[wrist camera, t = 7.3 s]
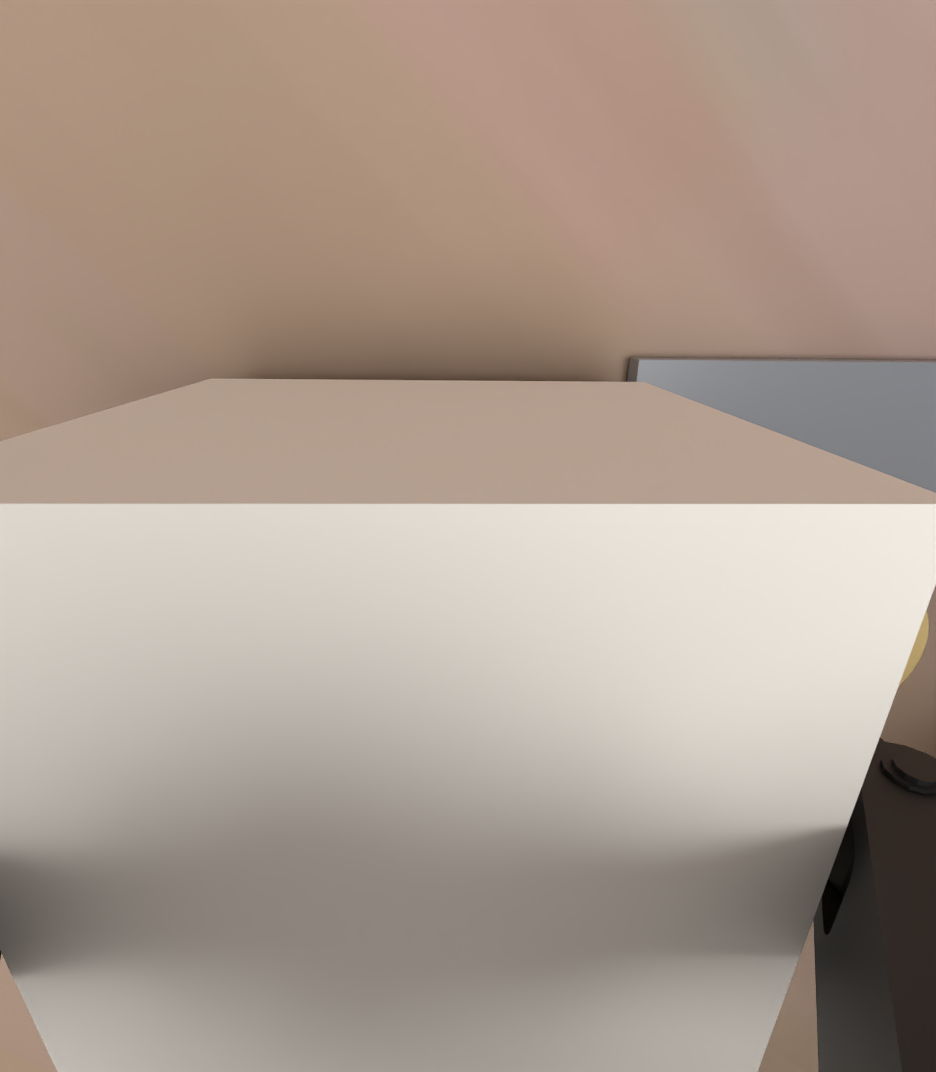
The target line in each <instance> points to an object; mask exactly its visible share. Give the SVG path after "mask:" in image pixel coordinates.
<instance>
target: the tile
mask: <svg viewBox="0 0 936 1072" xmlns="http://www.w3.org/2000/svg"><path fill="white" fill-rule="evenodd" d="M627 382H646V383H648V384H651V385H653V386H656V387H659V388H661V389H664V390H667V391H669V392H672V393H674V394H677V395H680V396H682V397H685V398H688V399H690V400H693V401H695V402H698V403H701V404H703V405H706V406H709V407H711V408H714V409H716V410H719V411H722V412H724V413H727V414H730V415H732V416H735V417H738V418H740V419H743V420H745V421H748V422H751V423H753V424H756V425H759V426H761V427H764V428H766V429H769V430H772V431H774V432H777V433H780V434H782V435H785V436H787V437H790V438H793V439H795V440H798V441H801V442H803V443H806V444H808V445H811V446H814V447H816V448H819V449H822V450H824V451H827V452H830V453H832V454H835V455H837V456H840V457H843V458H845V459H848V460H851V461H853V462H856V463H858V464H861V465H864V466H866V467H869V468H872V469H874V470H877V471H879V472H882V473H885V474H887V475H890V476H893V477H895V478H898V479H900V480H903V481H906V482H908V483H911V484H914V485H916V486H919V487H922V488H924V489H927V490H929V491H932V492H935V493H936V360H874V359H768V358H662V357H630V361H629V370H628V378H627ZM928 632H929V621H928V615H927V611H926V612H925V615H924V618H923V620H922V623H921V626H920V629H919V631H918V634H917V637H916V640H915V642H914V645H913V648H912V651H911V653H910V656H909V659H908V661H907V664H906V667H905V670H904V672H903V675H902V678H901V681H900V683H899V685H900V684H901V683H902V682H903V681H904V680H905V679H906V678H907V677H908V676H909V675H910V673H911V672H912V671H913V669H914V668H915V667H916V665H917V663H918V662H919V660H920V658H921V656H922V654H923V651H924V649H925V646H926V643H927V639H928Z"/></svg>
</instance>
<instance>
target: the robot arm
mask: <svg viewBox="0 0 936 1072" xmlns="http://www.w3.org/2000/svg"><path fill="white" fill-rule="evenodd" d="M814 946H815V975H816V1003H817V1032H818V1061H819V1072H936V759H935V758H933V757H931V756H930V755H928V754H926V753H923V752H920V751H918V750H915V749H913V748H910V747H907V746H904V745H899V744H893V743H888V742H884V741H883V740H882V739H881V738H879V741H878V744H877V746H876V749H875V752H874V754H873V757H872V760H871V763H870V765H869V768H868V771H867V774H866V776H865V779H864V782H863V785H862V787H861V790H860V793H859V795H858V798H857V801H856V804H855V806H854V809H853V812H852V815H851V817H850V820H849V823H848V826H847V828H846V831H845V834H844V836H843V839H842V842H841V845H840V847H839V850H838V853H837V856H836V858H835V861H834V864H833V867H832V869H831V872H830V875H829V878H828V880H827V883H826V886H825V888H824V891H823V894H822V897H821V899H820V902H819V905H818V908H817V910H816V913H815V916H814ZM0 958H1V951H0Z"/></svg>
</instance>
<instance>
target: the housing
mask: <svg viewBox="0 0 936 1072" xmlns="http://www.w3.org/2000/svg"><path fill="white" fill-rule="evenodd" d="M935 585H936V493H935V492H932V491H929V490H927V489H924V488H922V487H919V486H916V485H914V484H911V483H908V482H906V481H903V480H900V479H898V478H895V477H893V476H890V475H887V474H885V473H882V472H879V471H877V470H874V469H872V468H869V467H866V466H864V465H861V464H858V463H856V462H853V461H851V460H848V459H845V458H843V457H840V456H837V455H835V454H832V453H830V452H827V451H824V450H822V449H819V448H816V447H814V446H811V445H808V444H806V443H803V442H801V441H798V440H795V439H793V438H790V437H787V436H785V435H782V434H780V433H777V432H774V431H772V430H769V429H766V428H764V427H761V426H759V425H756V424H753V423H751V422H748V421H745V420H743V419H740V418H738V417H735V416H732V415H730V414H727V413H724V412H722V411H719V410H716V409H714V408H711V407H709V406H706V405H703V404H701V403H698V402H695V401H693V400H690V399H688V398H685V397H682V396H680V395H677V394H674V393H672V392H669V391H667V390H664V389H661V388H659V387H656V386H653V385H651V384H648V383H646V382H585V381H457V380H329V379H207V380H204V381H201V382H197V383H194V384H191V385H187V386H184V387H180V388H177V389H174V390H170V391H167V392H164V393H160V394H157V395H154V396H150V397H147V398H143V399H140V400H137V401H133V402H130V403H127V404H123V405H120V406H117V407H113V408H110V409H107V410H103V411H100V412H96V413H93V414H90V415H86V416H83V417H80V418H76V419H73V420H70V421H66V422H63V423H60V424H56V425H53V426H49V427H46V428H43V429H39V430H36V431H33V432H29V433H26V434H23V435H19V436H16V437H12V438H9V439H6V440H2V441H0V951H1V953H2V955H3V957H4V959H5V961H6V963H7V965H8V968H9V970H10V972H11V974H12V976H13V978H14V980H15V982H16V985H17V987H18V989H19V991H20V993H21V995H22V997H23V1000H24V1002H25V1004H26V1006H27V1008H28V1010H29V1012H30V1014H31V1017H32V1019H33V1021H34V1023H35V1025H36V1027H37V1029H38V1031H39V1034H40V1036H41V1038H42V1040H43V1042H44V1044H45V1046H46V1048H47V1051H48V1053H49V1055H50V1057H51V1059H52V1061H53V1063H54V1065H55V1068H56V1070H57V1072H758V1069H759V1066H760V1063H761V1061H762V1058H763V1055H764V1053H765V1050H766V1047H767V1044H768V1042H769V1039H770V1036H771V1033H772V1031H773V1028H774V1025H775V1022H776V1020H777V1017H778V1014H779V1012H780V1009H781V1006H782V1003H783V1001H784V998H785V995H786V992H787V990H788V987H789V984H790V981H791V979H792V976H793V973H794V971H795V968H796V965H797V962H798V960H799V957H800V954H801V951H802V949H803V946H804V943H805V940H806V938H807V935H808V932H809V929H810V927H811V924H812V921H813V919H814V916H815V913H816V910H817V908H818V905H819V902H820V899H821V897H822V894H823V891H824V888H825V886H826V883H827V880H828V878H829V875H830V872H831V869H832V867H833V864H834V861H835V858H836V856H837V853H838V850H839V847H840V845H841V842H842V839H843V836H844V834H845V831H846V828H847V826H848V823H849V820H850V817H851V815H852V812H853V809H854V806H855V804H856V801H857V798H858V795H859V793H860V790H861V787H862V785H863V782H864V779H865V776H866V774H867V771H868V768H869V765H870V763H871V760H872V757H873V754H874V752H875V749H876V746H877V744H878V741H879V738H880V735H881V733H882V730H883V727H884V724H885V722H886V719H887V716H888V713H889V711H890V708H891V705H892V702H893V700H894V697H895V694H896V692H897V689H898V686H899V683H900V681H901V678H902V675H903V672H904V670H905V667H906V664H907V661H908V659H909V656H910V653H911V651H912V648H913V645H914V642H915V640H916V637H917V634H918V631H919V629H920V626H921V623H922V620H923V618H924V615H925V612H926V609H927V607H928V604H929V601H930V599H931V596H932V593H933V590H934V588H935Z"/></svg>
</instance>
